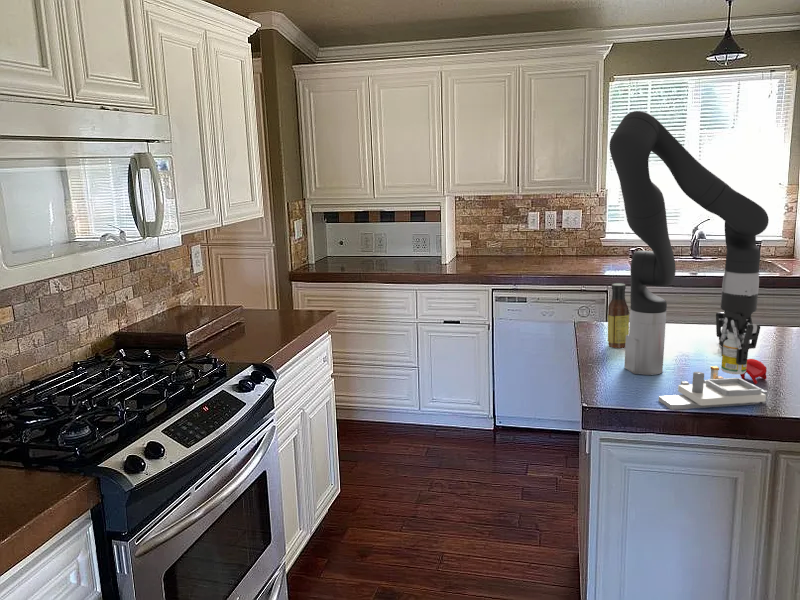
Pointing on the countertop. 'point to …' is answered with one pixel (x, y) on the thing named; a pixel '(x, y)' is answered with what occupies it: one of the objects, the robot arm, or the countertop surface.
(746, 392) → the toothed carriage
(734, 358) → the supplement bottle
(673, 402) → the index track
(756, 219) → the robot arm
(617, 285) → the sauce bottle
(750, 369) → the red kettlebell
